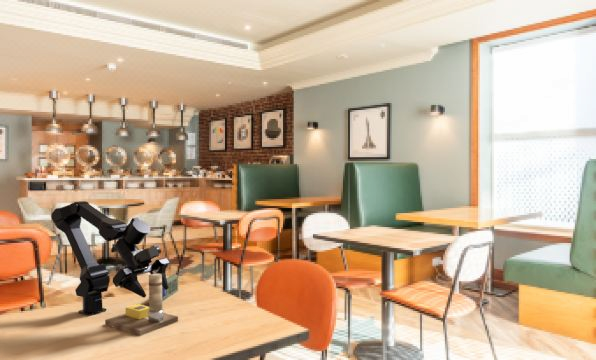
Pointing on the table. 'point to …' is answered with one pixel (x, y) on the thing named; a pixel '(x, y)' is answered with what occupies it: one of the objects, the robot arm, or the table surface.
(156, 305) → the beige ringed cylinder
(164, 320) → the subfloor panel
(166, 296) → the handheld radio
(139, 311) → the block
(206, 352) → the table surface
